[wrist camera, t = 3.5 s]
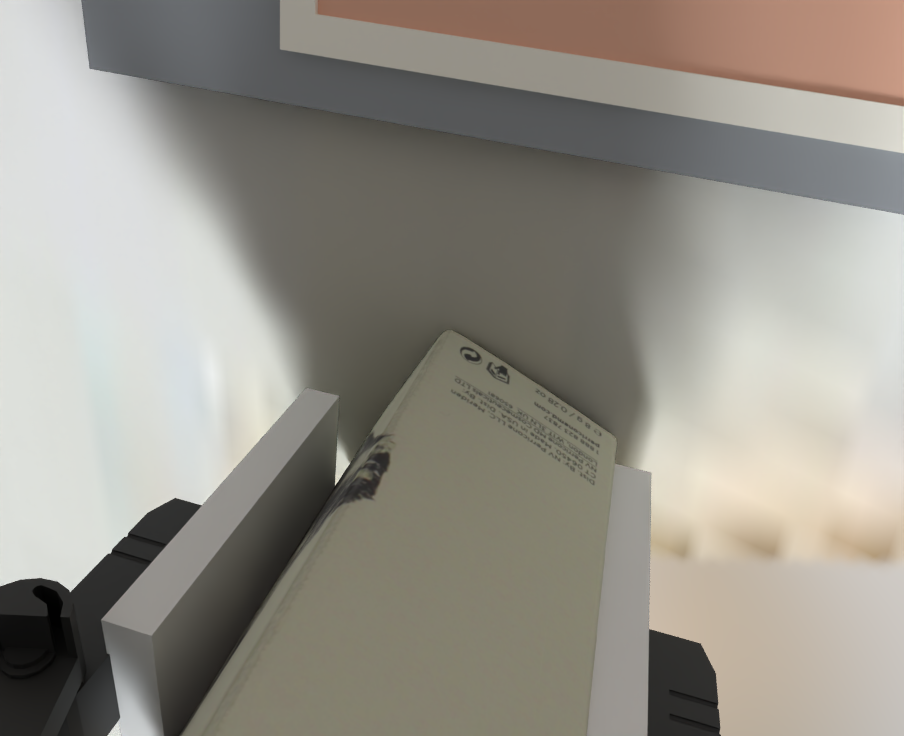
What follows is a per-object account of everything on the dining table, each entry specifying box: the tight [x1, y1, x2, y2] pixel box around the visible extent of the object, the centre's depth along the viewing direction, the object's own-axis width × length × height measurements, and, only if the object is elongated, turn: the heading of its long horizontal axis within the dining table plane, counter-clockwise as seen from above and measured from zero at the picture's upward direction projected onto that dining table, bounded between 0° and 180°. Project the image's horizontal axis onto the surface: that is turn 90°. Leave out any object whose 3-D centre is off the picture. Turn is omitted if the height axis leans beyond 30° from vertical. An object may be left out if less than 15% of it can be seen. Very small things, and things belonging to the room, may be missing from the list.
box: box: [178, 330, 617, 736], centre depth 10 cm, size 5×4×13 cm
